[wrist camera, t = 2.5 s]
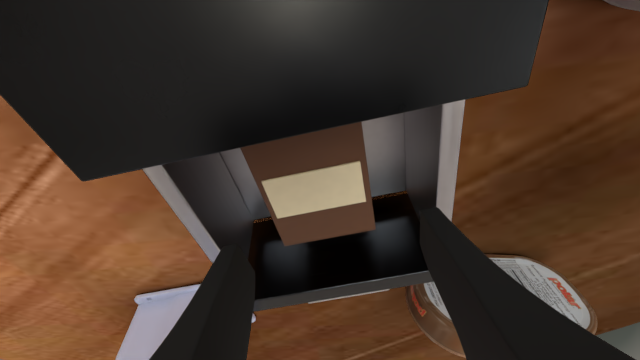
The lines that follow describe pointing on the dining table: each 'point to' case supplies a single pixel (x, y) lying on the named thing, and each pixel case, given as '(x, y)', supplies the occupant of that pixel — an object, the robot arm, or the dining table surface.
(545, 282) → the tin
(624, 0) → the pillar candle
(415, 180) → the drawer
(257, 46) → the black box
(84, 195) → the dining table surface
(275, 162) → the packet
